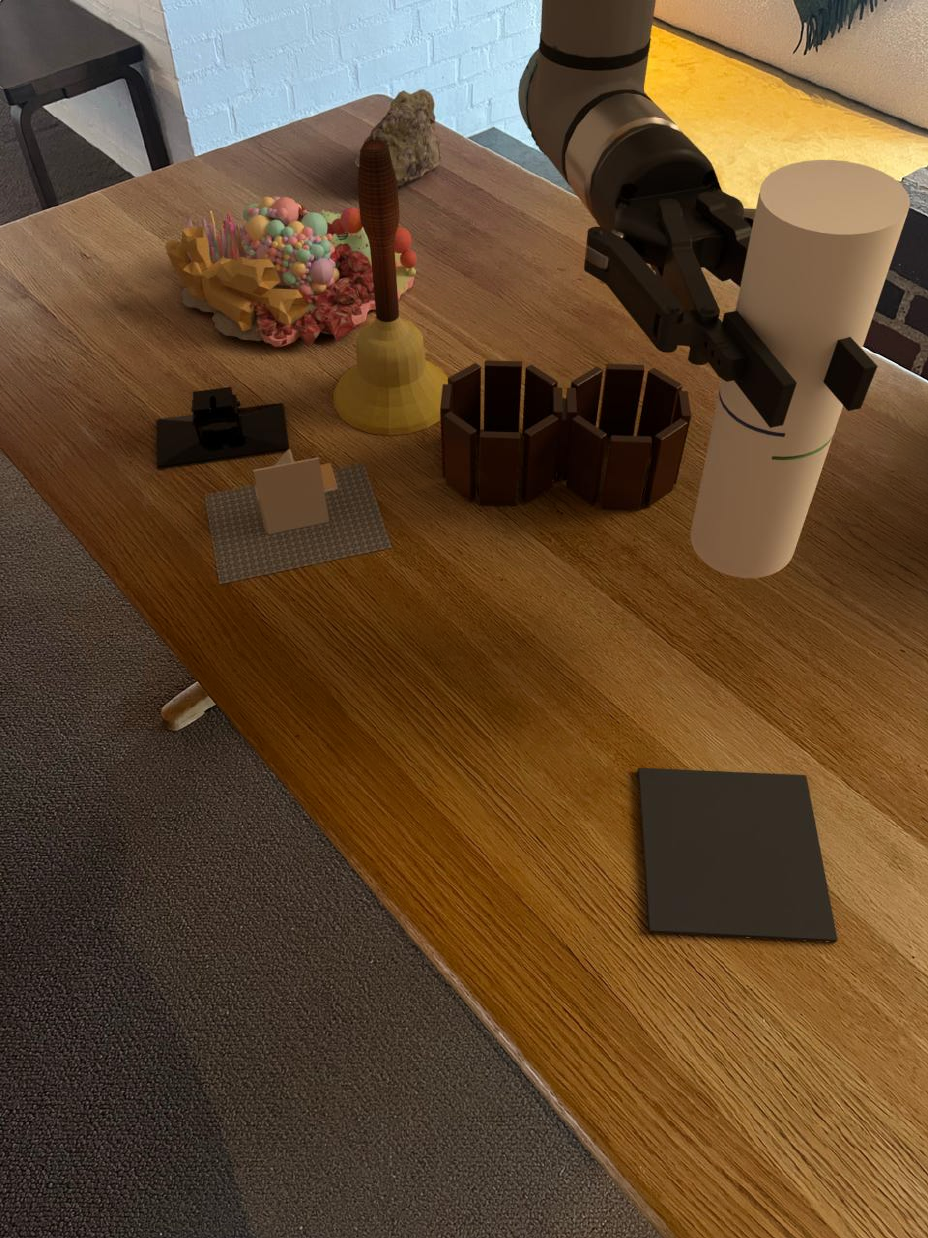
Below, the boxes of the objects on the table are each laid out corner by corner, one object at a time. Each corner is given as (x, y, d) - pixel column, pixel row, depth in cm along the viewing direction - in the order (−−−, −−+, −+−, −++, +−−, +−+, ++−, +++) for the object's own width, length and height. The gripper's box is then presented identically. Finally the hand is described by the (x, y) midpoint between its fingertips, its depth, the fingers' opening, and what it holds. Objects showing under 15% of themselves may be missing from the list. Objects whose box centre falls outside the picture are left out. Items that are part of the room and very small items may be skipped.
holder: (669, 434, 93) (684, 365, 86) (679, 512, 86) (695, 443, 80) (447, 427, 93) (445, 358, 87) (439, 503, 87) (437, 435, 81)
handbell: (456, 358, 100) (453, 110, 81) (452, 436, 93) (448, 183, 73) (339, 356, 101) (307, 109, 81) (325, 434, 93) (287, 182, 73)
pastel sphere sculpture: (312, 377, 98) (299, 297, 91) (143, 309, 106) (119, 230, 99) (442, 263, 112) (440, 185, 104) (283, 209, 119) (271, 134, 112)
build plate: (157, 470, 90) (143, 431, 86) (157, 421, 95) (144, 382, 91) (289, 451, 91) (281, 412, 88) (283, 403, 96) (275, 364, 92)
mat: (804, 778, 69) (806, 774, 69) (835, 943, 62) (838, 940, 61) (637, 770, 70) (638, 767, 69) (648, 933, 62) (649, 930, 62)
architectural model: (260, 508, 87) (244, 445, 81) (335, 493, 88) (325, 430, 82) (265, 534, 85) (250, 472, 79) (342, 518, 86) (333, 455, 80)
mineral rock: (364, 204, 120) (356, 121, 112) (337, 166, 126) (328, 85, 119) (459, 183, 123) (458, 102, 115) (428, 147, 129) (425, 67, 122)
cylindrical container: (703, 493, 70) (774, 151, 50) (803, 516, 68) (918, 170, 48) (679, 562, 66) (746, 220, 46) (784, 589, 64) (900, 244, 44)
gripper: (744, 215, 68) (939, 422, 54) (517, 254, 65) (659, 484, 51) (770, 104, 62) (996, 304, 48) (521, 141, 59) (684, 366, 45)
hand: (822, 396), depth 49 cm, fingers open, 4 cm apart
